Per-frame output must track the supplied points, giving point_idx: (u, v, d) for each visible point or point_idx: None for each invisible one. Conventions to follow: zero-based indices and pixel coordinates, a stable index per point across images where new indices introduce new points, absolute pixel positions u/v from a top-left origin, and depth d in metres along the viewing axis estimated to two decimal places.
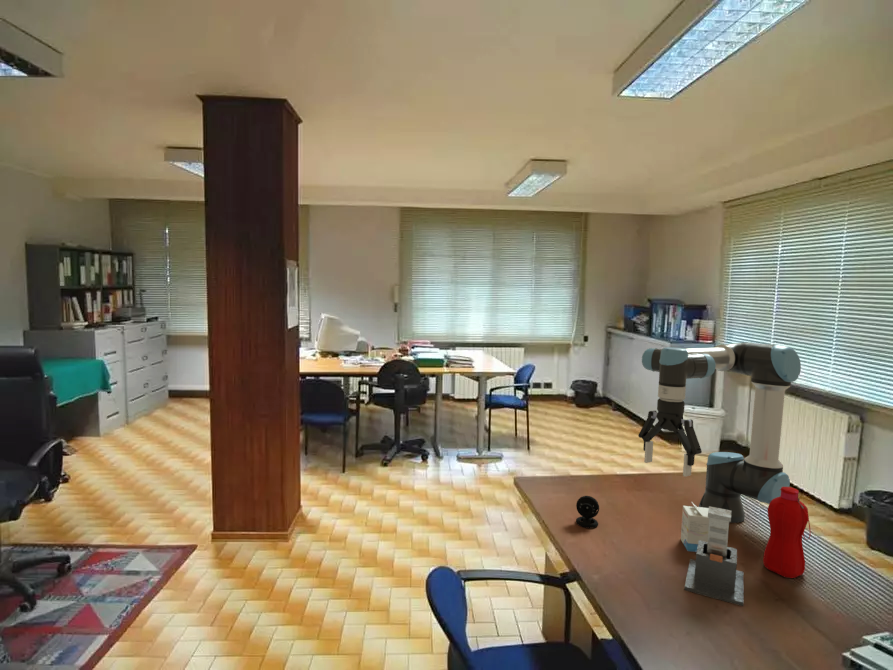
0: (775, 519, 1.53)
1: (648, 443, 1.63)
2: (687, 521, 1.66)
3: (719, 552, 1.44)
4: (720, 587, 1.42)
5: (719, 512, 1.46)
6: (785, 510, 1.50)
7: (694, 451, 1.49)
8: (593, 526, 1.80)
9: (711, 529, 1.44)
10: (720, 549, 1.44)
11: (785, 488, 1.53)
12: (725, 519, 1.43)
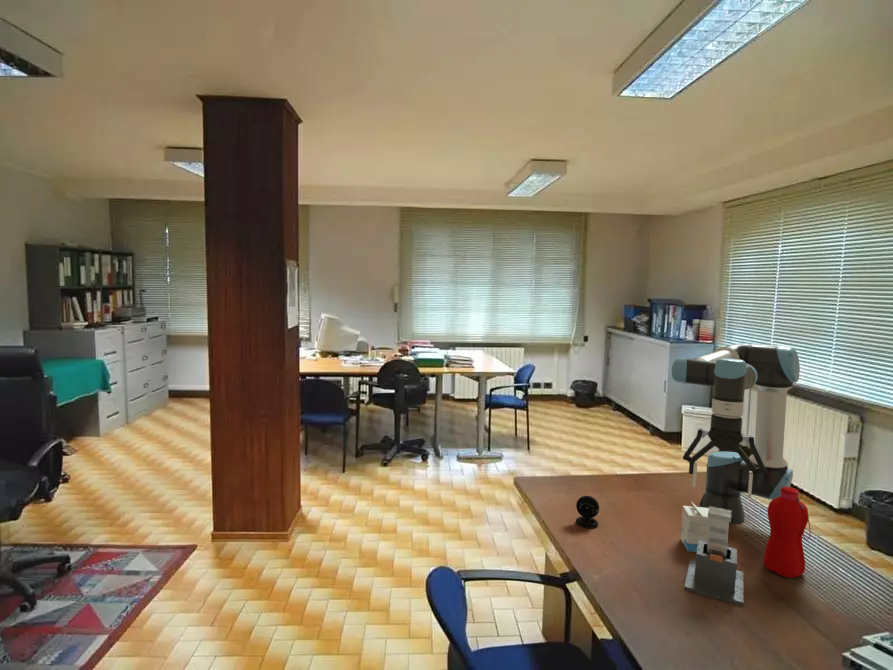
0: (775, 519, 1.53)
1: (696, 465, 1.47)
2: (687, 521, 1.66)
3: (719, 552, 1.44)
4: (720, 587, 1.42)
5: (719, 512, 1.46)
6: (784, 510, 1.50)
7: (763, 470, 1.39)
8: (593, 526, 1.80)
9: (711, 529, 1.44)
10: (720, 549, 1.44)
11: (785, 488, 1.53)
12: (725, 519, 1.43)
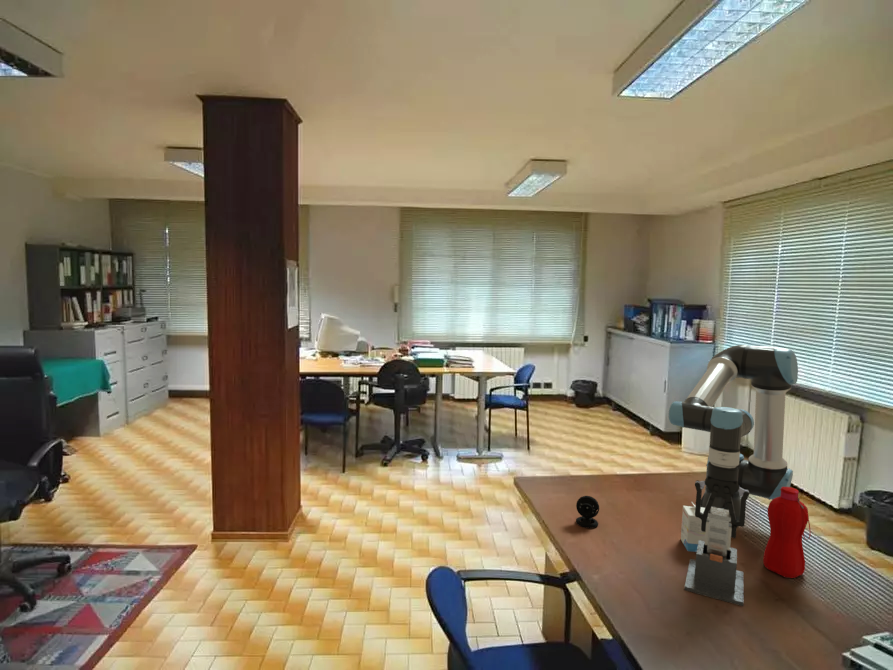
0: (775, 519, 1.53)
1: None
2: (687, 521, 1.66)
3: (719, 552, 1.44)
4: (720, 587, 1.42)
5: (719, 512, 1.46)
6: (784, 510, 1.50)
7: (742, 523, 1.42)
8: (593, 526, 1.80)
9: (711, 529, 1.44)
10: (720, 549, 1.44)
11: (785, 488, 1.53)
12: (725, 519, 1.43)
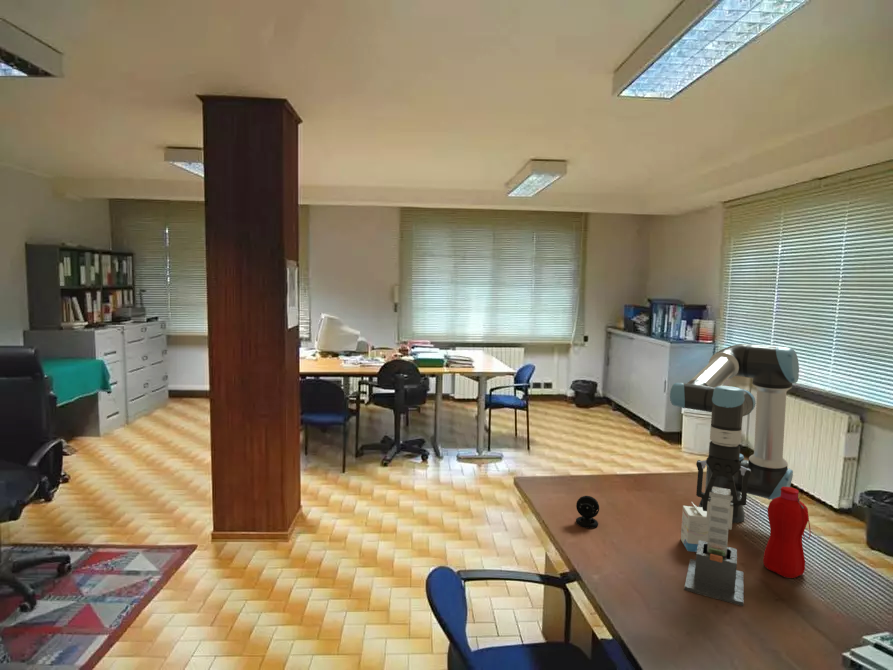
0: (775, 519, 1.53)
1: None
2: (687, 521, 1.66)
3: (721, 531, 1.43)
4: (720, 587, 1.42)
5: (720, 491, 1.45)
6: (785, 510, 1.50)
7: (744, 502, 1.42)
8: (593, 526, 1.80)
9: (713, 508, 1.44)
10: (722, 528, 1.43)
11: (785, 488, 1.53)
12: (727, 498, 1.42)
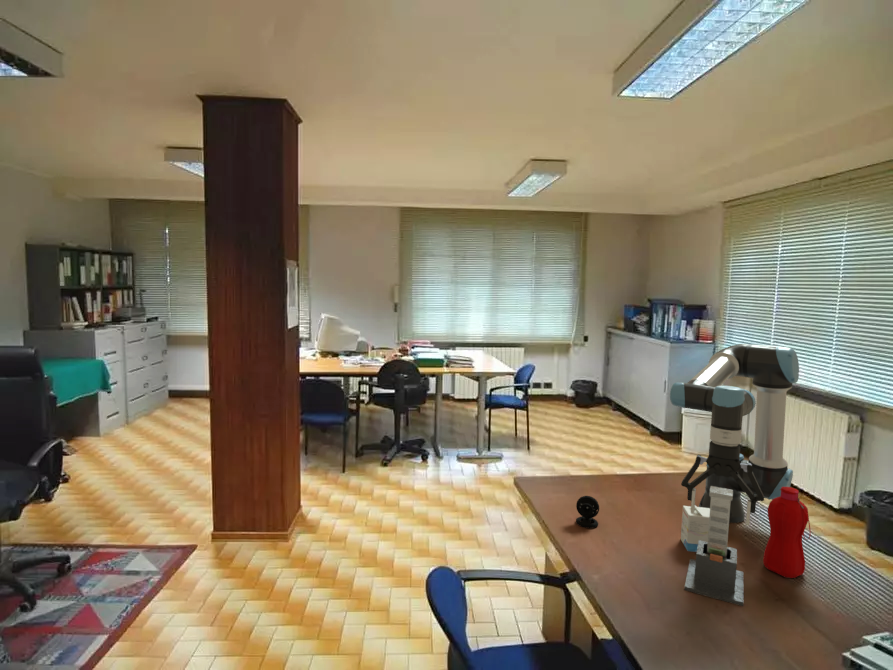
0: (775, 519, 1.53)
1: (695, 492, 1.48)
2: (687, 521, 1.66)
3: (721, 531, 1.43)
4: (720, 587, 1.42)
5: (720, 491, 1.45)
6: (785, 510, 1.50)
7: (761, 498, 1.40)
8: (593, 526, 1.80)
9: (713, 508, 1.44)
10: (722, 528, 1.43)
11: (785, 488, 1.53)
12: (727, 498, 1.42)
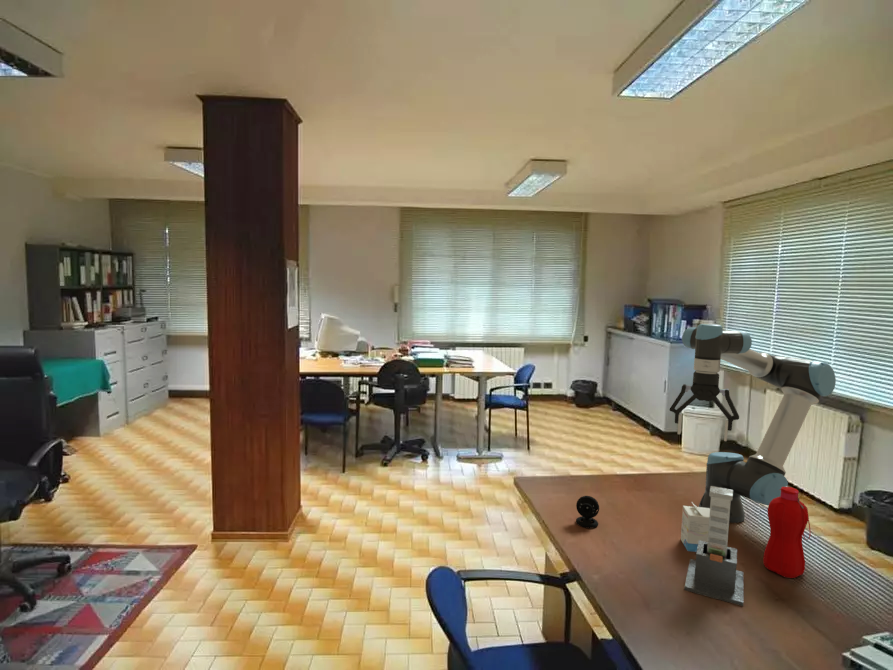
0: (775, 519, 1.53)
1: (681, 415, 1.73)
2: (687, 521, 1.66)
3: (721, 531, 1.43)
4: (720, 587, 1.42)
5: (720, 491, 1.45)
6: (784, 510, 1.50)
7: (737, 417, 1.64)
8: (593, 526, 1.80)
9: (713, 508, 1.44)
10: (722, 528, 1.43)
11: (785, 488, 1.53)
12: (727, 498, 1.42)
